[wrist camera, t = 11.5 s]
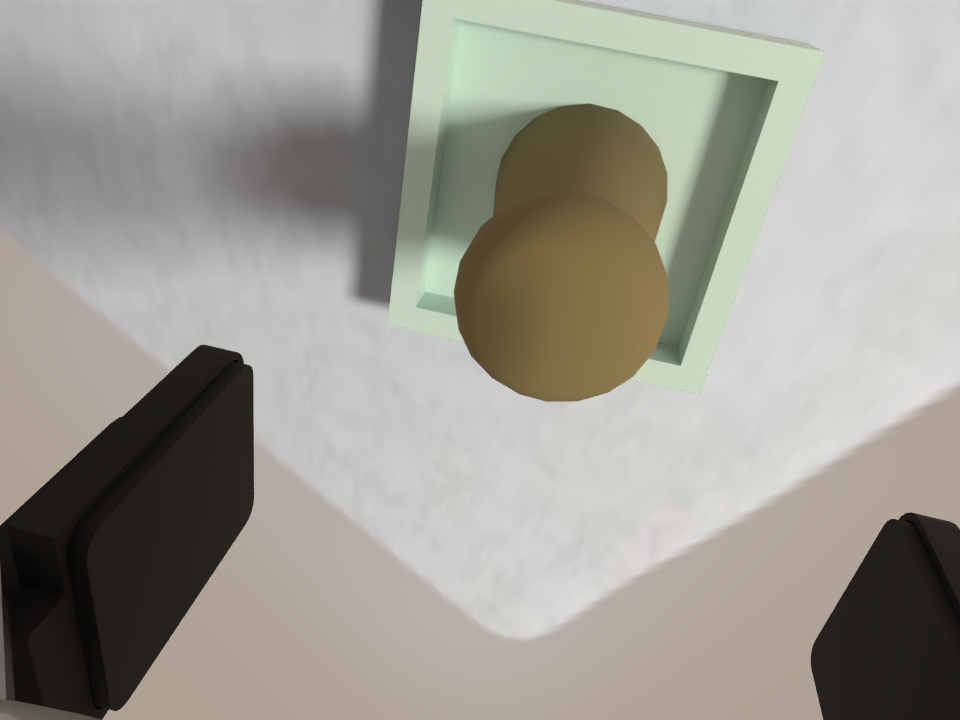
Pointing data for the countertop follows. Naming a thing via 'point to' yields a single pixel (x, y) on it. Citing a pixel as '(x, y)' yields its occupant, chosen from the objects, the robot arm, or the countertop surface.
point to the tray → (612, 84)
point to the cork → (568, 258)
